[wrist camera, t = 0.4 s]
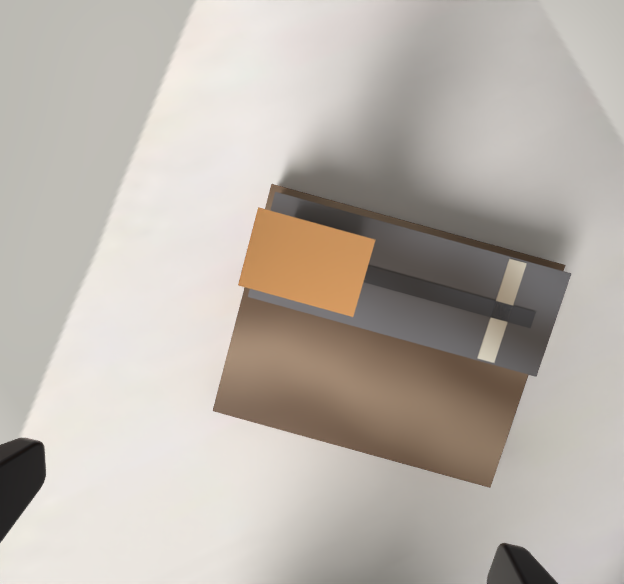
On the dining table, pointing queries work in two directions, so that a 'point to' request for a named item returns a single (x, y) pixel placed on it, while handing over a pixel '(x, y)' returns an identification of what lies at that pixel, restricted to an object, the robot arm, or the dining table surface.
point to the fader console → (398, 346)
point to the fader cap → (306, 262)
